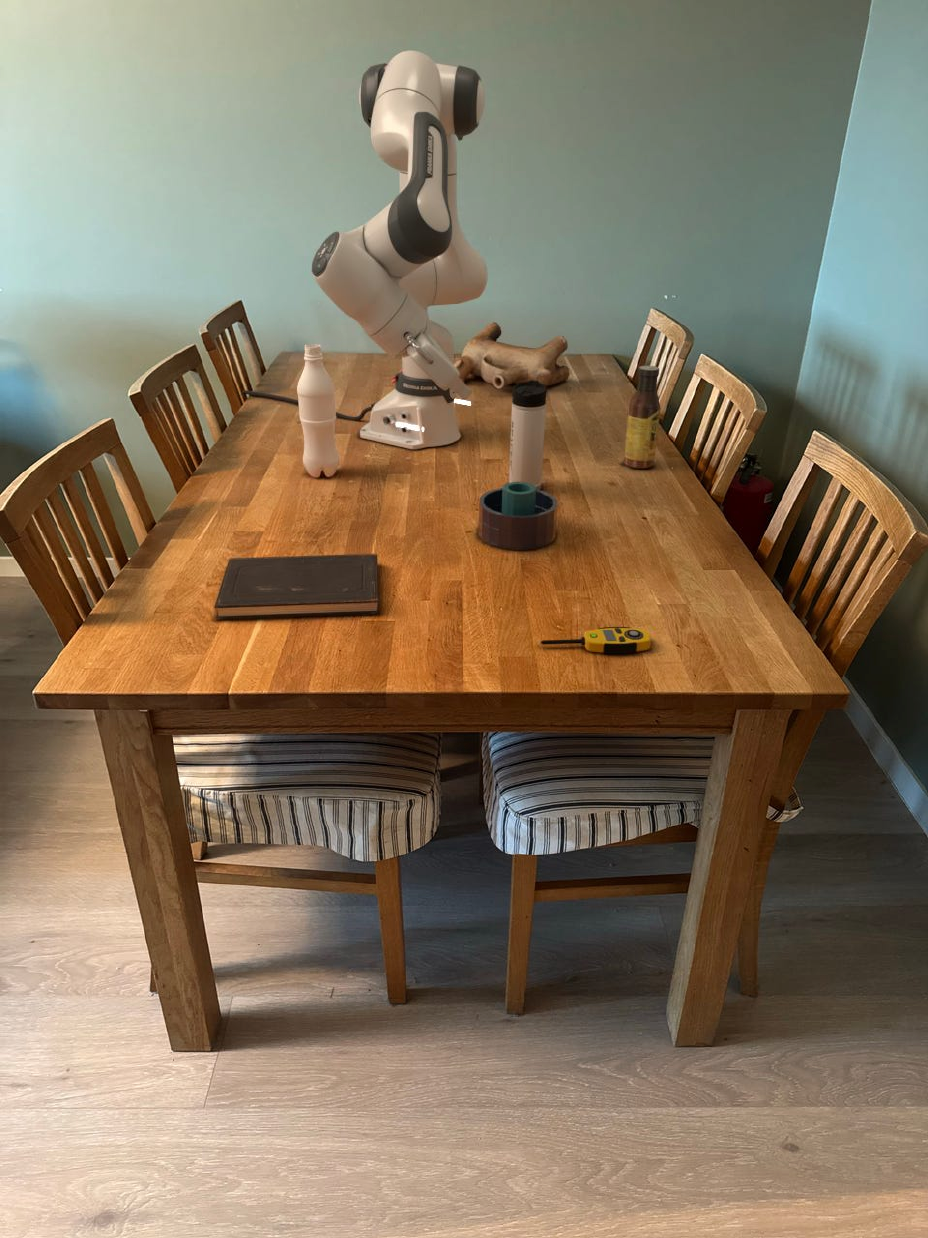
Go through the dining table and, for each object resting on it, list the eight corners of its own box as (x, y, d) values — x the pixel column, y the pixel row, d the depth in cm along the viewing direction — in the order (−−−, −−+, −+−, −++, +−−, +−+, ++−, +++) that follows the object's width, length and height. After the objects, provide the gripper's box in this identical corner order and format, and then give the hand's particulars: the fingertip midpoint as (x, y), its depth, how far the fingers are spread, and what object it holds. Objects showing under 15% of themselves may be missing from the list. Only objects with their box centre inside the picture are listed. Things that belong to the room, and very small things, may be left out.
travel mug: (545, 483, 172) (551, 381, 162) (536, 495, 166) (542, 390, 156) (514, 479, 173) (518, 378, 163) (504, 491, 168) (508, 387, 158)
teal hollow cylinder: (496, 535, 150) (498, 491, 146) (507, 522, 154) (508, 479, 150) (527, 540, 148) (530, 495, 144) (537, 527, 152) (539, 484, 148)
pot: (467, 542, 148) (468, 509, 145) (493, 513, 159) (494, 482, 156) (543, 555, 144) (545, 522, 141) (563, 525, 155) (566, 493, 152)
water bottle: (346, 470, 177) (339, 343, 164) (327, 482, 171) (318, 351, 159) (316, 464, 179) (307, 339, 167) (296, 476, 174) (285, 347, 161)
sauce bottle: (653, 471, 178) (665, 373, 168) (622, 468, 179) (632, 371, 169) (653, 460, 184) (665, 364, 174) (623, 458, 185) (633, 362, 175)
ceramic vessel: (483, 312, 243) (427, 339, 227) (579, 337, 229) (527, 368, 213) (482, 357, 251) (428, 386, 235) (575, 384, 237) (524, 417, 221)
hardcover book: (378, 614, 127) (377, 600, 126) (216, 620, 125) (214, 606, 124) (377, 564, 140) (377, 551, 139) (231, 569, 139) (229, 556, 137)
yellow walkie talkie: (654, 641, 117) (543, 644, 116) (653, 653, 118) (542, 656, 117) (645, 623, 121) (538, 626, 120) (644, 635, 122) (537, 638, 121)
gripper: (426, 326, 127) (490, 390, 133) (404, 298, 144) (462, 356, 151) (396, 359, 128) (461, 420, 135) (378, 327, 145) (436, 383, 152)
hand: (461, 386), depth 143 cm, fingers open, 8 cm apart
